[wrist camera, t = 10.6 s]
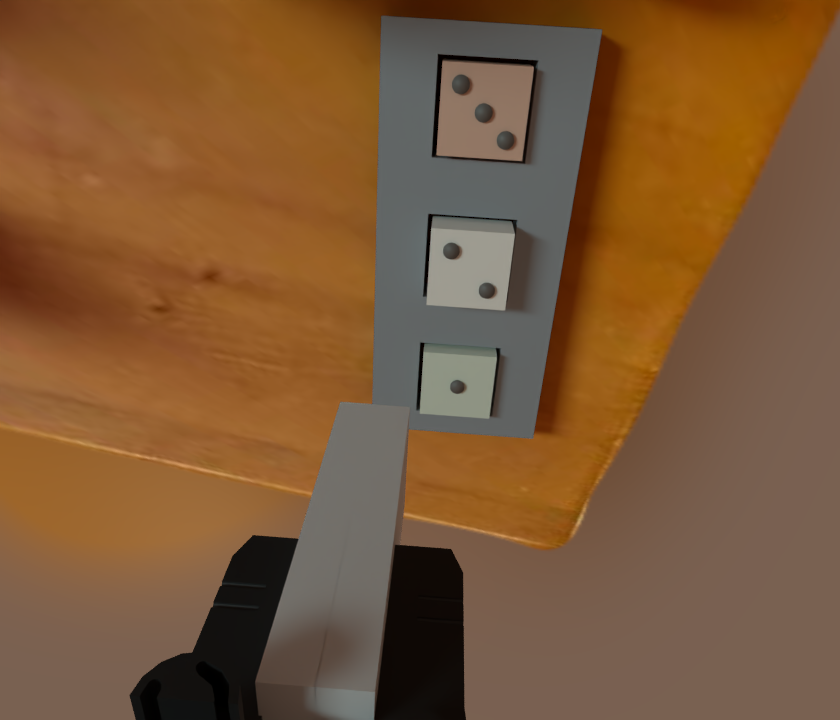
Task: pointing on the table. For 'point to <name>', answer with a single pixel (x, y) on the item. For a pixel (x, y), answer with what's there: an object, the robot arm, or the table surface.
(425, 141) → the key board
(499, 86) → the key three
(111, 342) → the table surface
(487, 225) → the key two
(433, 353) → the key one
